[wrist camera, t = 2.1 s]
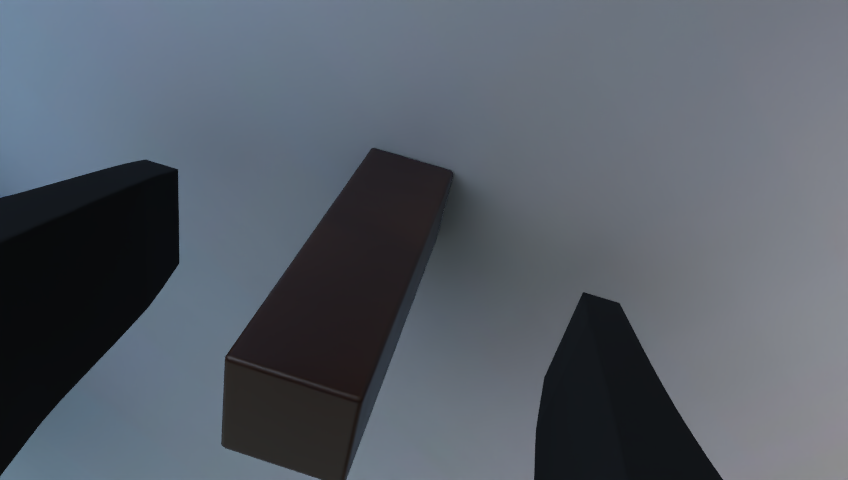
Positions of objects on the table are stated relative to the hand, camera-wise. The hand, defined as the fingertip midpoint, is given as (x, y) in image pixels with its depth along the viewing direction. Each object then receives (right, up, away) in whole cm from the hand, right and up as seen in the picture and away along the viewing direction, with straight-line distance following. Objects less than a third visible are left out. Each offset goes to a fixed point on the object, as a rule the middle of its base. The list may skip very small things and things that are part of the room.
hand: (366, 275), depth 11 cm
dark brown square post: (+1, +2, +3) cm, 3 cm away
